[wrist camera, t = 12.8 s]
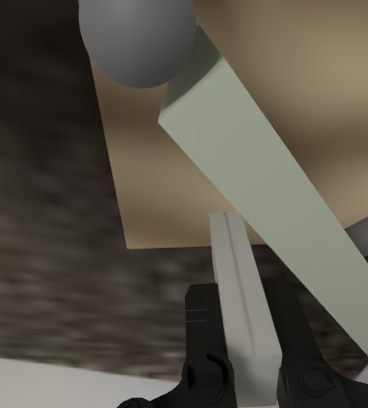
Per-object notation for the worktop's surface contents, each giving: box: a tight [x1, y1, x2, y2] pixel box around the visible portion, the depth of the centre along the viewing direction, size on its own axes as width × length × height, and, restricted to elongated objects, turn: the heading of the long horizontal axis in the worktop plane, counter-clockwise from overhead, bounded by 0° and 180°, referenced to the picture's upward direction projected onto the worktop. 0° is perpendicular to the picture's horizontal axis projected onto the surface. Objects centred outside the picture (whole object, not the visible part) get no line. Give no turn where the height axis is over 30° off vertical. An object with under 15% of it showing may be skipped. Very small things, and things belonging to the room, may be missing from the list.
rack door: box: [79, 0, 368, 355], centre depth 9 cm, size 12×3×9 cm, turn 40°
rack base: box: [78, 0, 368, 249], centre depth 10 cm, size 15×15×11 cm
